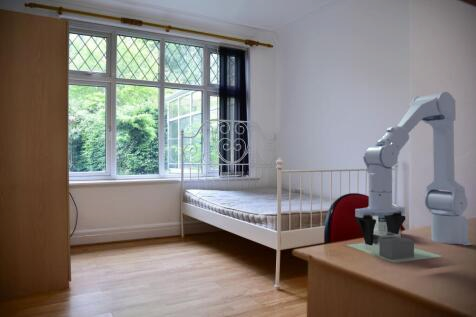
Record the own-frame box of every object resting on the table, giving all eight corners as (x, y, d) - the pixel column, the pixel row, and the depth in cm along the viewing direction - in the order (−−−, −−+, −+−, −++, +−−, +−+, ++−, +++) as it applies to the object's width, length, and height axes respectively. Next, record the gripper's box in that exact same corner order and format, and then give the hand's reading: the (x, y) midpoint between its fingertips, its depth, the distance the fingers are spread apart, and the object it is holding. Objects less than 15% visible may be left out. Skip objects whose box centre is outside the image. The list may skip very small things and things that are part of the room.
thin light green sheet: (388, 243, 104) (388, 226, 104) (442, 260, 87) (442, 240, 87) (345, 248, 99) (345, 230, 99) (394, 266, 82) (394, 245, 82)
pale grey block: (381, 247, 96) (381, 229, 96) (397, 252, 90) (397, 234, 90) (364, 249, 94) (364, 231, 94) (380, 254, 88) (380, 236, 88)
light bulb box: (401, 242, 106) (401, 206, 106) (377, 241, 108) (377, 205, 108) (393, 234, 117) (393, 202, 117) (371, 233, 118) (371, 201, 118)
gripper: (390, 189, 98) (391, 237, 98) (347, 191, 94) (347, 242, 93) (411, 191, 92) (411, 243, 92) (365, 193, 87) (365, 248, 87)
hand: (380, 243), depth 92 cm, fingers open, 7 cm apart
